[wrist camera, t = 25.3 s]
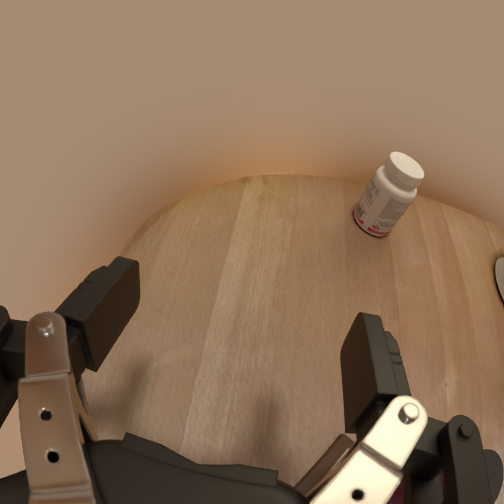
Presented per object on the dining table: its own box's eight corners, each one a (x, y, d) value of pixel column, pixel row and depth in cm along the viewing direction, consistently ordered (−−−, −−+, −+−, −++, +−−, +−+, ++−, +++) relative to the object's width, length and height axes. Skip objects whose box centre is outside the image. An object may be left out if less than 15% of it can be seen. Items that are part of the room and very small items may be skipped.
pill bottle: (394, 224, 34) (432, 171, 27) (380, 245, 31) (421, 188, 25) (363, 199, 35) (395, 144, 29) (345, 217, 33) (380, 157, 26)
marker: (322, 505, 15) (456, 528, 5) (325, 467, 17) (460, 458, 7) (361, 500, 16) (502, 503, 6) (362, 463, 17) (503, 442, 8)
